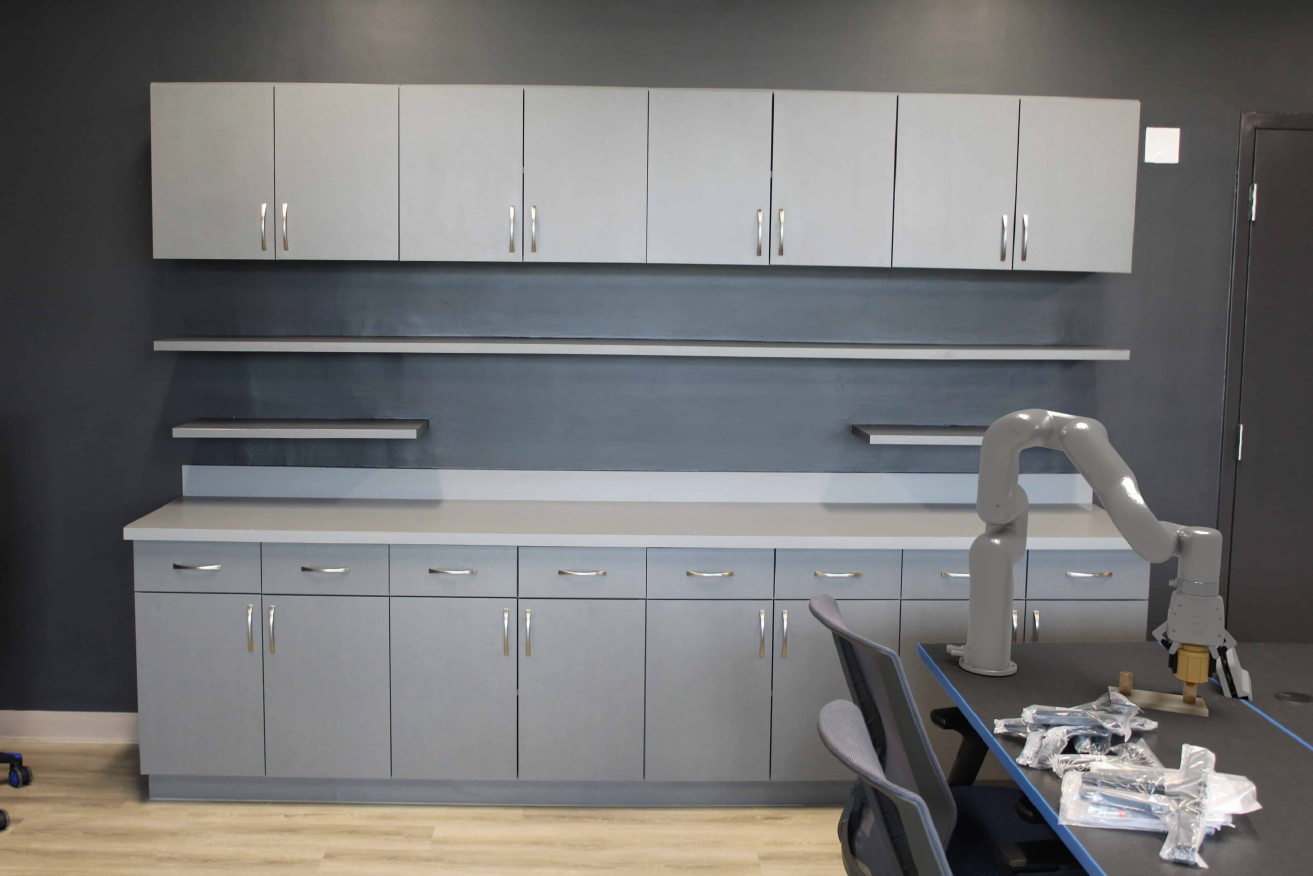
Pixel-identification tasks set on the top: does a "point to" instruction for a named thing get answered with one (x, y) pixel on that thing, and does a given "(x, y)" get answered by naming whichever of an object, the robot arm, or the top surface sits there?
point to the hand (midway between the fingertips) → (1191, 673)
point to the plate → (1165, 702)
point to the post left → (1125, 683)
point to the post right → (1189, 692)
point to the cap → (1192, 663)
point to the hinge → (1233, 675)
